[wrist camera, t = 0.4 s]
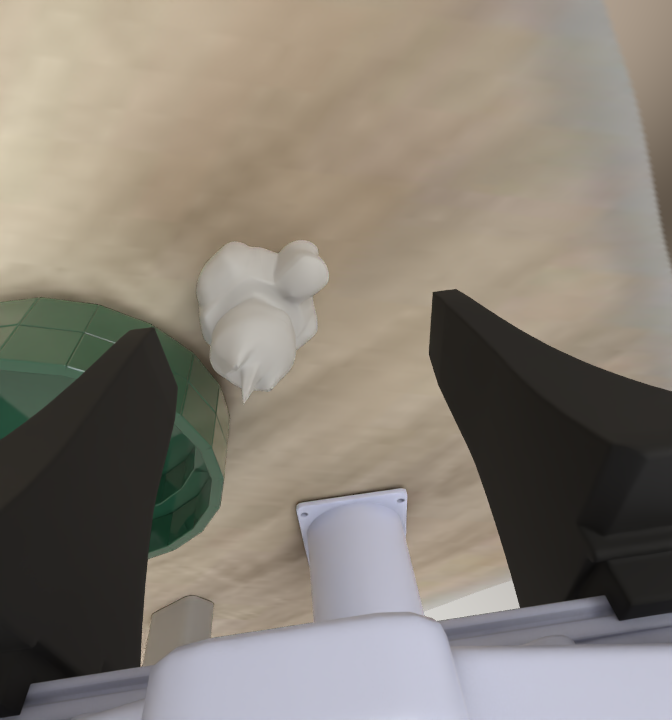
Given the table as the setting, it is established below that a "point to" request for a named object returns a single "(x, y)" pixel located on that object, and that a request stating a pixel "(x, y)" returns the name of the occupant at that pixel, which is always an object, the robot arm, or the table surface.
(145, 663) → the power adapter
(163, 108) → the table surface
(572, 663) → the robot arm
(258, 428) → the table surface
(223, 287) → the grey lumpy piece
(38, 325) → the bowl
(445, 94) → the table surface
